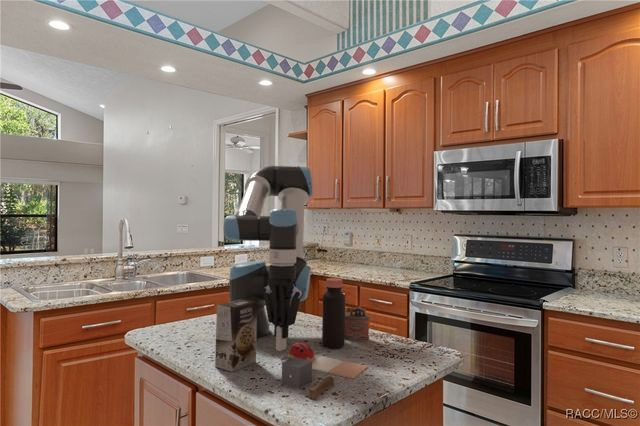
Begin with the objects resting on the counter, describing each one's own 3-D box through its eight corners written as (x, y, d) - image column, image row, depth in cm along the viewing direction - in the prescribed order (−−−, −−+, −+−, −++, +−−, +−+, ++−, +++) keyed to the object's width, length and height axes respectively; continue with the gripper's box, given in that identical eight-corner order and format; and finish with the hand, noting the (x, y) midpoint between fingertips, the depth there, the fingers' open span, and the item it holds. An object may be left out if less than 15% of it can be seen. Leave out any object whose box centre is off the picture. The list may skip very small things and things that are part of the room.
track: (281, 362, 110) (281, 361, 110) (299, 352, 118) (299, 351, 118) (353, 378, 100) (353, 377, 100) (368, 367, 107) (368, 366, 107)
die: (298, 390, 93) (281, 384, 96) (311, 382, 97) (294, 377, 100) (299, 367, 93) (281, 363, 96) (312, 361, 97) (294, 356, 100)
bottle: (322, 342, 128) (323, 277, 129) (344, 342, 128) (345, 277, 128) (321, 349, 122) (322, 280, 122) (344, 349, 121) (345, 281, 122)
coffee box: (232, 372, 102) (234, 307, 102) (214, 367, 106) (215, 303, 106) (257, 362, 110) (258, 301, 110) (239, 357, 114) (240, 298, 114)
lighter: (368, 338, 133) (369, 307, 133) (369, 341, 130) (369, 309, 130) (343, 337, 134) (344, 306, 134) (343, 340, 131) (343, 308, 131)
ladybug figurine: (305, 351, 118) (305, 339, 118) (321, 362, 109) (321, 349, 109) (283, 355, 115) (283, 342, 115) (298, 366, 106) (298, 352, 106)
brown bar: (308, 397, 89) (309, 389, 89) (329, 383, 97) (329, 375, 97) (313, 399, 88) (313, 390, 88) (333, 384, 96) (333, 376, 96)
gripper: (255, 263, 116) (254, 348, 115) (294, 267, 109) (292, 357, 109) (271, 261, 122) (270, 342, 122) (309, 264, 115) (308, 349, 115)
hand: (281, 349), depth 115 cm, fingers closed
